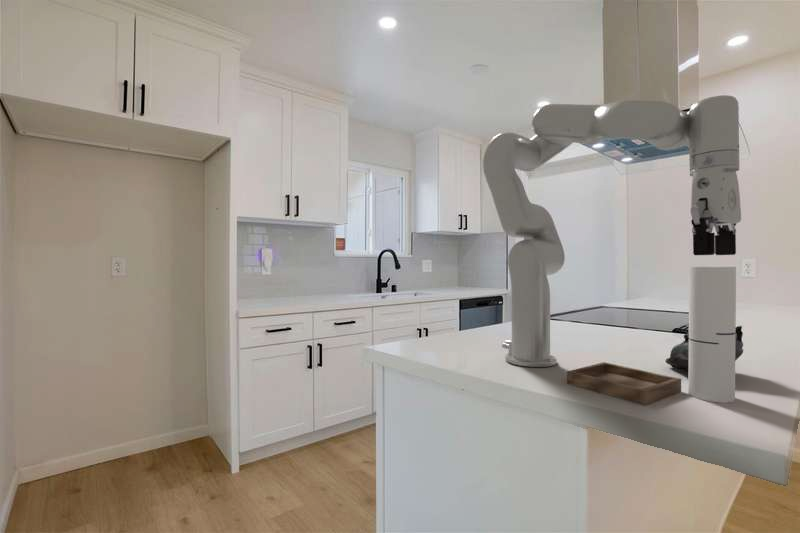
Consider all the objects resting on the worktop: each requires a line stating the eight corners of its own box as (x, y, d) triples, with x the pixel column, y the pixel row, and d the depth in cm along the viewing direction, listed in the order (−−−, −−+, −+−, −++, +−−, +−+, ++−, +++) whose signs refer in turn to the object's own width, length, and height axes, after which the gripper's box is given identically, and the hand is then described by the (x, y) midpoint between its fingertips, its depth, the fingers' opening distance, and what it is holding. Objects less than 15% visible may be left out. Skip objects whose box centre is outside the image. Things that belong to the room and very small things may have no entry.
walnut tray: (567, 383, 87) (567, 371, 87) (604, 372, 95) (604, 362, 95) (645, 405, 74) (645, 391, 74) (681, 391, 81) (681, 378, 81)
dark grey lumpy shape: (660, 363, 103) (685, 314, 104) (715, 389, 97) (741, 337, 98) (671, 359, 90) (699, 303, 90) (736, 388, 84) (765, 328, 85)
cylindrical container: (743, 403, 74) (745, 266, 74) (699, 401, 76) (700, 266, 75) (721, 391, 81) (722, 266, 81) (681, 389, 83) (682, 266, 82)
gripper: (718, 154, 70) (720, 254, 70) (755, 166, 79) (756, 254, 79) (670, 164, 76) (671, 255, 76) (709, 173, 85) (710, 255, 85)
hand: (715, 254), depth 78 cm, fingers open, 9 cm apart
